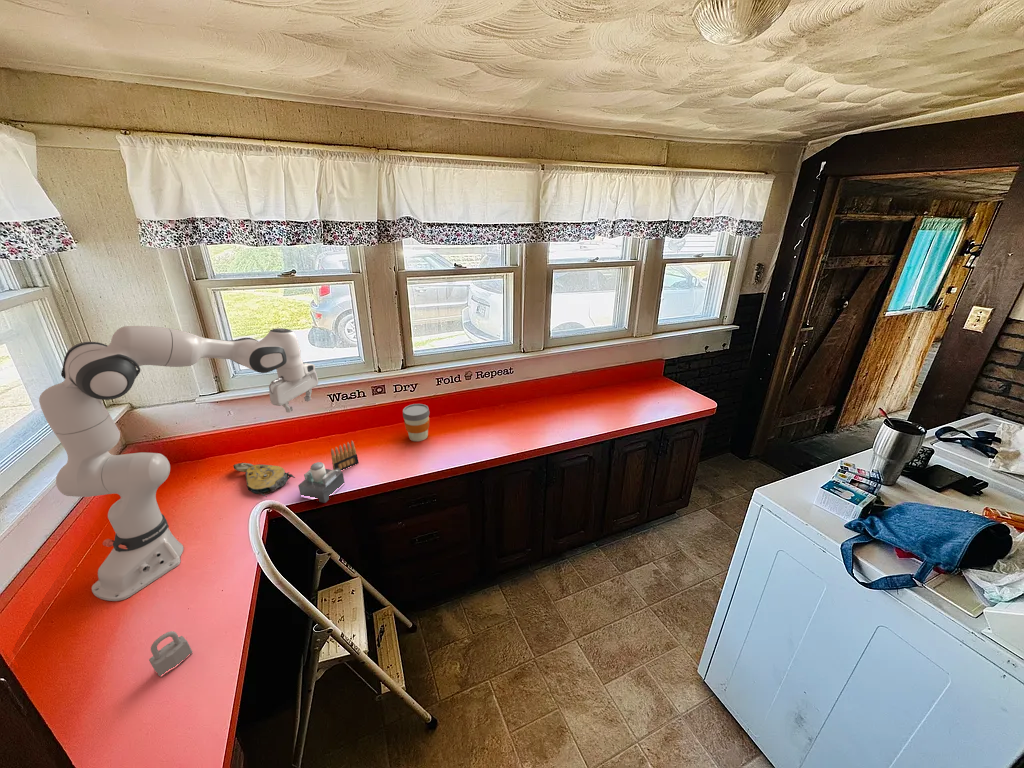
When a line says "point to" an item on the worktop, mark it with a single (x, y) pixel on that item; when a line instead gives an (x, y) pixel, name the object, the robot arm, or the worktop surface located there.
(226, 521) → the worktop surface
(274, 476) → the pulley block
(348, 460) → the ammunition clip
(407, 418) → the reusable coffee cup
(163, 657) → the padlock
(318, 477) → the white domed cylinder
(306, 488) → the motor
